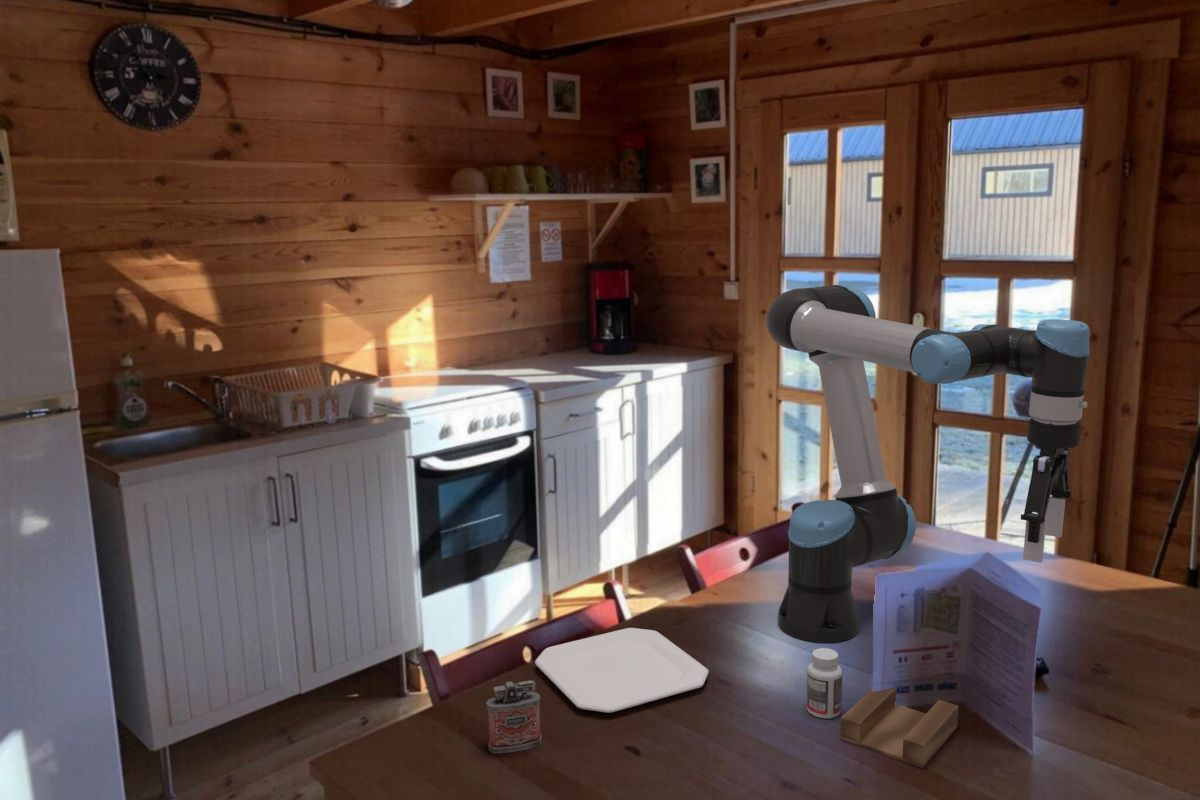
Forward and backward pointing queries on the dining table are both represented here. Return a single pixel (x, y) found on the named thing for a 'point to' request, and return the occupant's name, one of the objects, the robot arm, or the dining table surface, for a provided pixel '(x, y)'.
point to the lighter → (514, 718)
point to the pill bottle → (824, 684)
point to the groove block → (898, 727)
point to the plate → (620, 669)
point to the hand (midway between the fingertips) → (1042, 547)
